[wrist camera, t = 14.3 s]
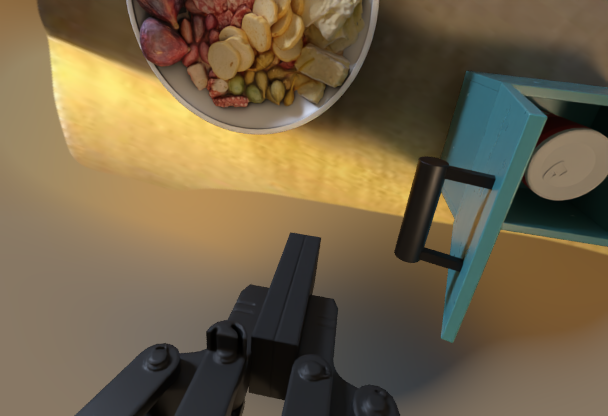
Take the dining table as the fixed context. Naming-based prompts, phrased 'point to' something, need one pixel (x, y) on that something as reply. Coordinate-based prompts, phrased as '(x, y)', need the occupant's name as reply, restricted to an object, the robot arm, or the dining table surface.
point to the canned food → (566, 160)
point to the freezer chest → (526, 204)
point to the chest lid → (472, 201)
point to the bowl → (255, 56)
